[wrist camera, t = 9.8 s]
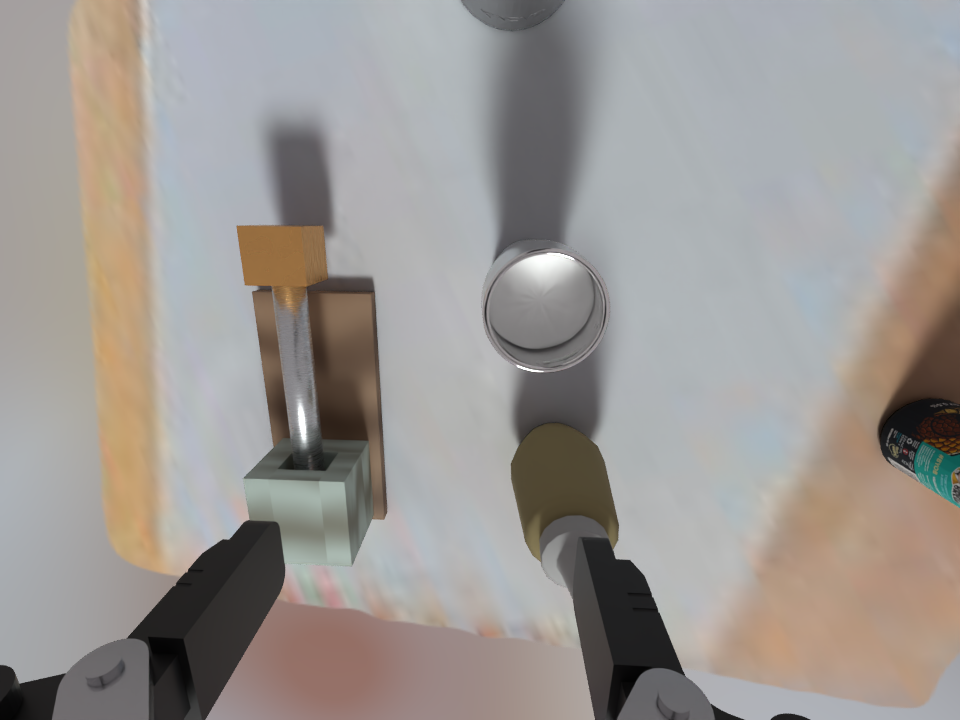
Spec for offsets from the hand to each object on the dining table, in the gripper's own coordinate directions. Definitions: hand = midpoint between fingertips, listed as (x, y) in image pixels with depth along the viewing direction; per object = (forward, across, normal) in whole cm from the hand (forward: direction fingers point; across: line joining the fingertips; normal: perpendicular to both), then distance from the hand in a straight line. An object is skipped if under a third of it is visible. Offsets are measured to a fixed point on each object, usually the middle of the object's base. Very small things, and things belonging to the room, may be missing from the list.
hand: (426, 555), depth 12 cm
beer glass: (+28, -4, -4) cm, 29 cm away
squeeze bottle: (+28, -7, +12) cm, 32 cm away
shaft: (+25, +14, +3) cm, 29 cm away
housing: (+28, +14, +9) cm, 32 cm away
